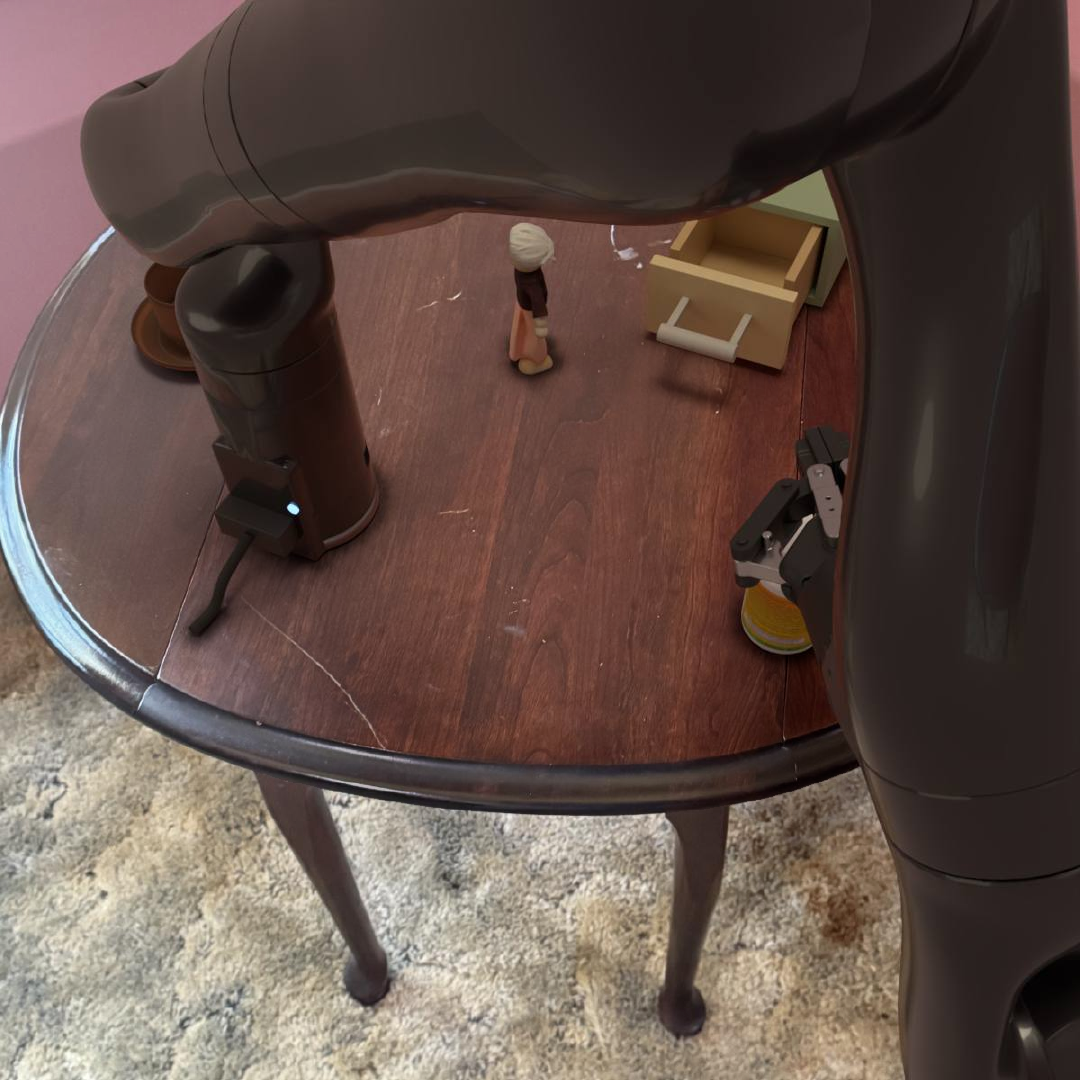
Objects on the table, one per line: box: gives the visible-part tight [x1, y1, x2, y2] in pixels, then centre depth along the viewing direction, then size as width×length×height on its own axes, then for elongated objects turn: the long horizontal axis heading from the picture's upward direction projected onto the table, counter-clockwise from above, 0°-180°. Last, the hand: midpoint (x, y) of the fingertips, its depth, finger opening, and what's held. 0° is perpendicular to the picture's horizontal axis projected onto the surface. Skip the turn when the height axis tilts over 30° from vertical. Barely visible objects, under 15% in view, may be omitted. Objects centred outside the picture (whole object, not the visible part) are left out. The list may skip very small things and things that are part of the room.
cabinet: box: [683, 169, 847, 308], centre depth 94 cm, size 14×13×9 cm
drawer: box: [645, 207, 829, 370], centre depth 88 cm, size 17×11×7 cm, turn 154°
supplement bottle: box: [740, 514, 813, 655], centre depth 70 cm, size 5×5×10 cm
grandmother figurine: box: [508, 222, 555, 375], centre depth 85 cm, size 8×4×13 cm, turn 21°
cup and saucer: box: [130, 262, 196, 372], centre depth 90 cm, size 12×12×6 cm
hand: (817, 440), depth 60 cm, fingers closed
